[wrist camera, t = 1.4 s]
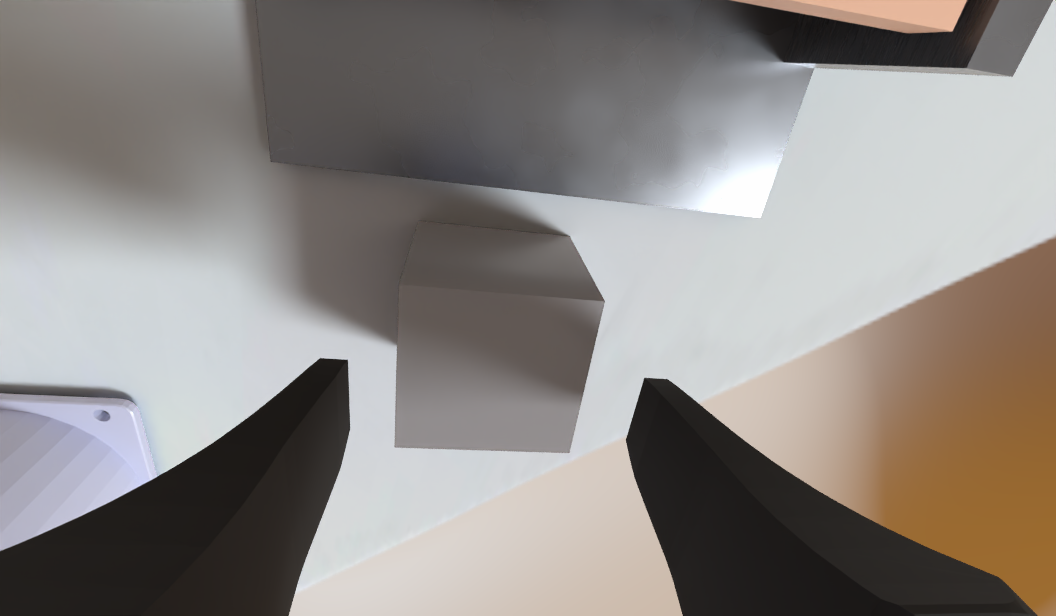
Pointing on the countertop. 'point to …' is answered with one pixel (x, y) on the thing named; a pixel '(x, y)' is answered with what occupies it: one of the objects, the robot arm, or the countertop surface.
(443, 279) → the grey cube
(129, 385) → the countertop surface
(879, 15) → the trapdoor
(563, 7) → the trapdoor frame
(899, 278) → the countertop surface
